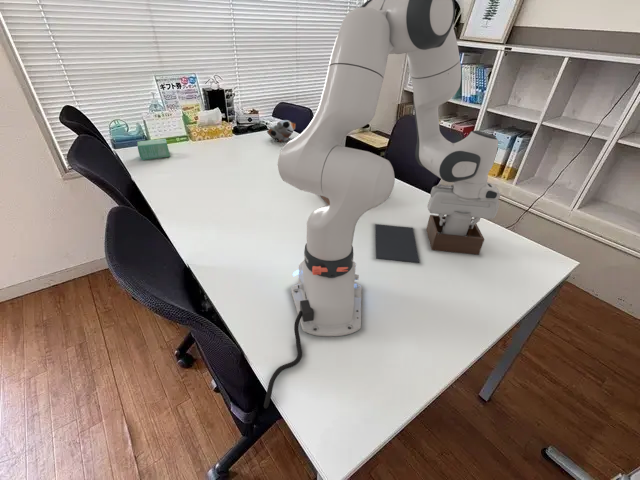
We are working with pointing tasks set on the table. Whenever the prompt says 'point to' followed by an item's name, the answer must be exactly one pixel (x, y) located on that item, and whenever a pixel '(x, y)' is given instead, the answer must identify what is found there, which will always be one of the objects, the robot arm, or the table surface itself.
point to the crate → (453, 238)
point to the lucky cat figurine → (282, 130)
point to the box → (153, 149)
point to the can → (457, 224)
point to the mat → (396, 243)
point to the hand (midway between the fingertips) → (455, 226)
